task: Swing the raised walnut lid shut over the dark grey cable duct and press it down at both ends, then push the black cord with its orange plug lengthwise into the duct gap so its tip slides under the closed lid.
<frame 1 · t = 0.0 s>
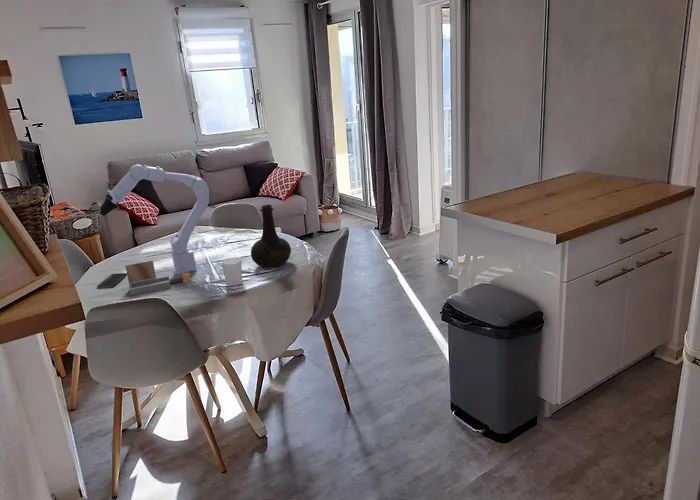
hand: (101, 212, 212), 32 cm above the table, tool tilted 50°, fingers open, 7 cm apart
white cup: (234, 283, 215), on the table
phone: (113, 282, 226), on the table
lid: (140, 271, 217), point 6 cm above the table, hinge at 100.0°
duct: (150, 287, 215), on the table
glass bottle: (272, 265, 232), on the table
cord: (175, 283, 219), on the table
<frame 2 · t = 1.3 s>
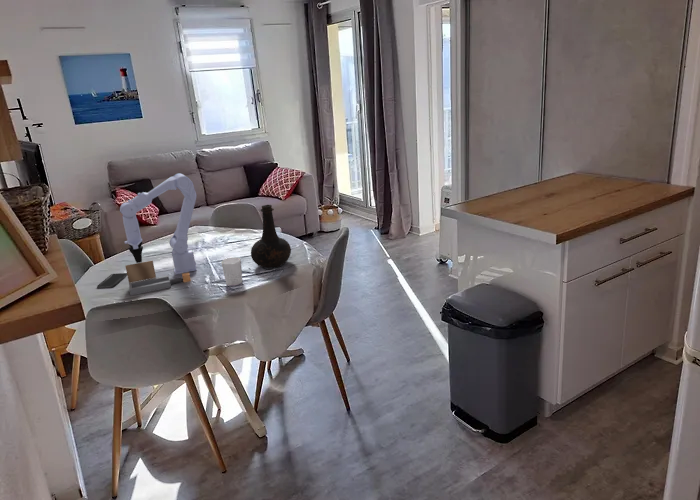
hand: (138, 260, 222), 9 cm above the table, tool pointing down, fingers open, 6 cm apart
nothing on the table moved.
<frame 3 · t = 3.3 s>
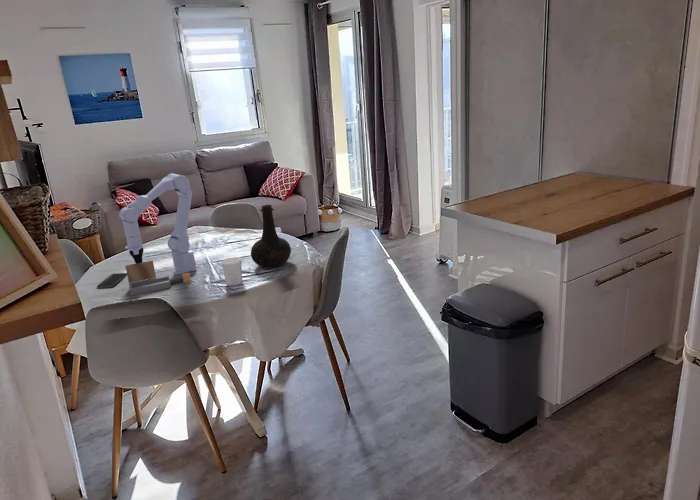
hand: (139, 265, 218), 8 cm above the table, tool pointing down, fingers closed, pressing on lid
lid: (140, 271, 217), point 6 cm above the table, hinge at 100.0°, touching gripper
everything else where it was.
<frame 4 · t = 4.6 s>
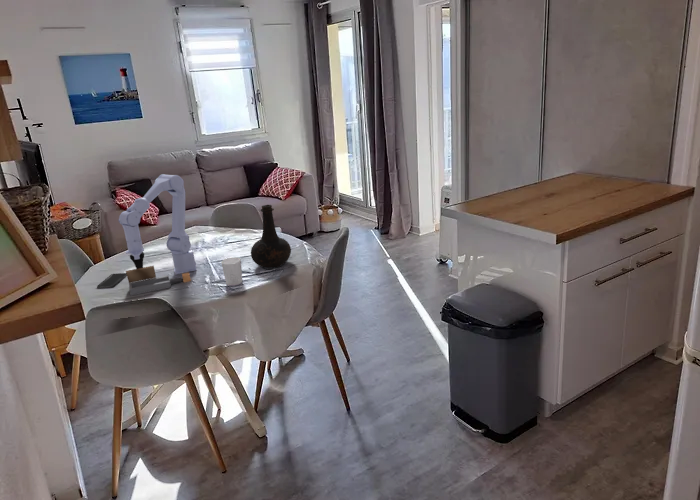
hand: (140, 270, 213), 8 cm above the table, tool pointing down, fingers closed, pressing on lid
lid: (141, 274, 214), point 6 cm above the table, hinge at 56.8°, touching gripper
everything else where it was.
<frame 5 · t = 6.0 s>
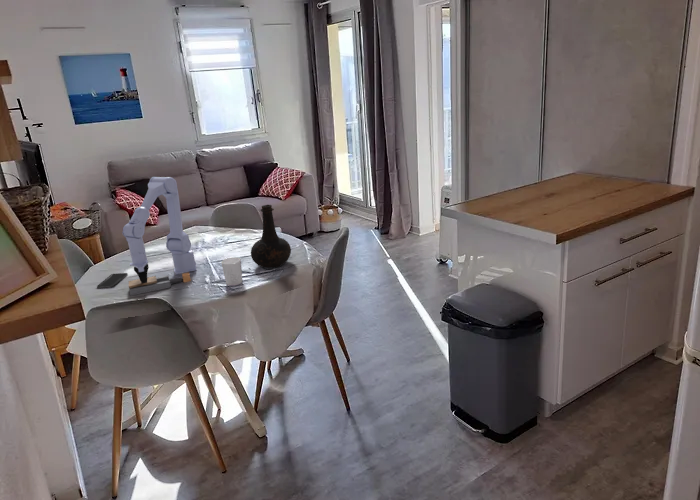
hand: (144, 282, 211), 4 cm above the table, tool pointing down, fingers closed, pressing on lid
lid: (142, 281, 214), point 3 cm above the table, hinge at 3.2°, touching gripper
everything else where it was.
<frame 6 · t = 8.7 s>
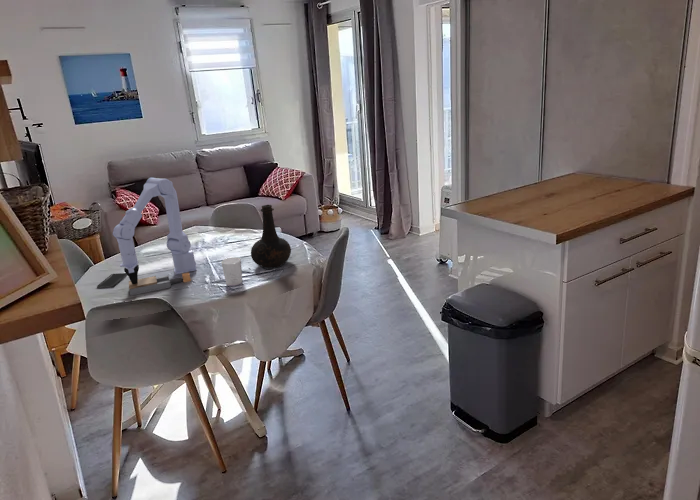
hand: (134, 283, 212), 3 cm above the table, tool pointing down, fingers closed
lid: (142, 282, 214), point 3 cm above the table, hinge at -0.9°, touching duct, gripper
everything else where it was.
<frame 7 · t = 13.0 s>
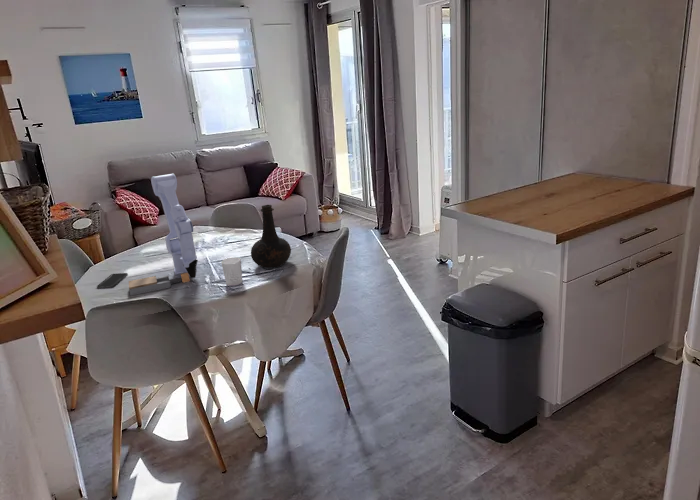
hand: (193, 277, 221), 1 cm above the table, tool pointing down, fingers closed
lid: (142, 282, 214), point 3 cm above the table, hinge at -0.9°, touching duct
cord: (173, 283, 219), on the table, touching gripper
everything else where it was.
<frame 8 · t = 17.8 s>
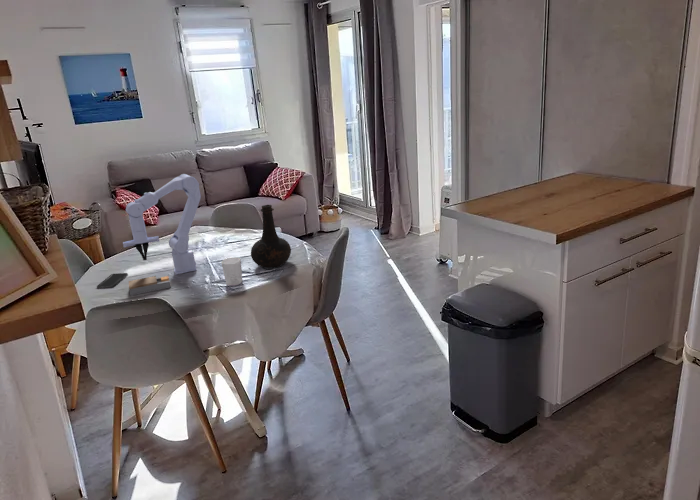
hand: (145, 259, 222), 9 cm above the table, tool pointing down, fingers closed
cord: (153, 286, 217), resting in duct
everything else where it was.
at the end: lid at -1° (first picture: +100°); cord 1.0 cm from the target spot, resting in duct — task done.
